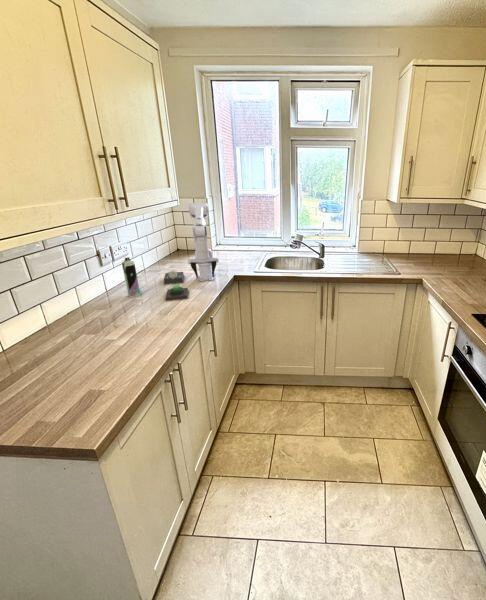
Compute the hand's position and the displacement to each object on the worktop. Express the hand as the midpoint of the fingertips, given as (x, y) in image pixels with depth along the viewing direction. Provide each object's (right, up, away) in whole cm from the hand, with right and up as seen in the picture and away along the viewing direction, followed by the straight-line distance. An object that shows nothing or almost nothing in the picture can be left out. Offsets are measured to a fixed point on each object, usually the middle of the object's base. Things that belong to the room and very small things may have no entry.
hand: (205, 276), depth 160 cm
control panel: (-26, 0, +25) cm, 36 cm away
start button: (-15, -7, +2) cm, 17 cm away
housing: (-15, -9, +3) cm, 18 cm away
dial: (-25, +2, +21) cm, 33 cm away
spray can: (-37, -10, +2) cm, 38 cm away
